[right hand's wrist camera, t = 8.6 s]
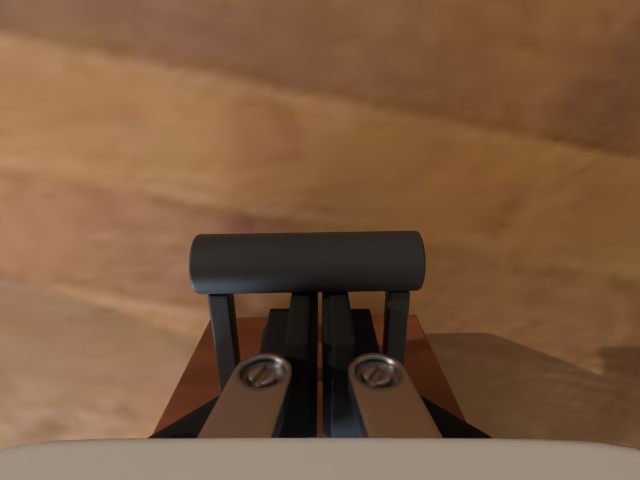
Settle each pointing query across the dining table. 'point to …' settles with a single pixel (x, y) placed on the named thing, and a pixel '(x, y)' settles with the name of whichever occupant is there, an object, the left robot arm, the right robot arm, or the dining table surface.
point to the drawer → (304, 276)
